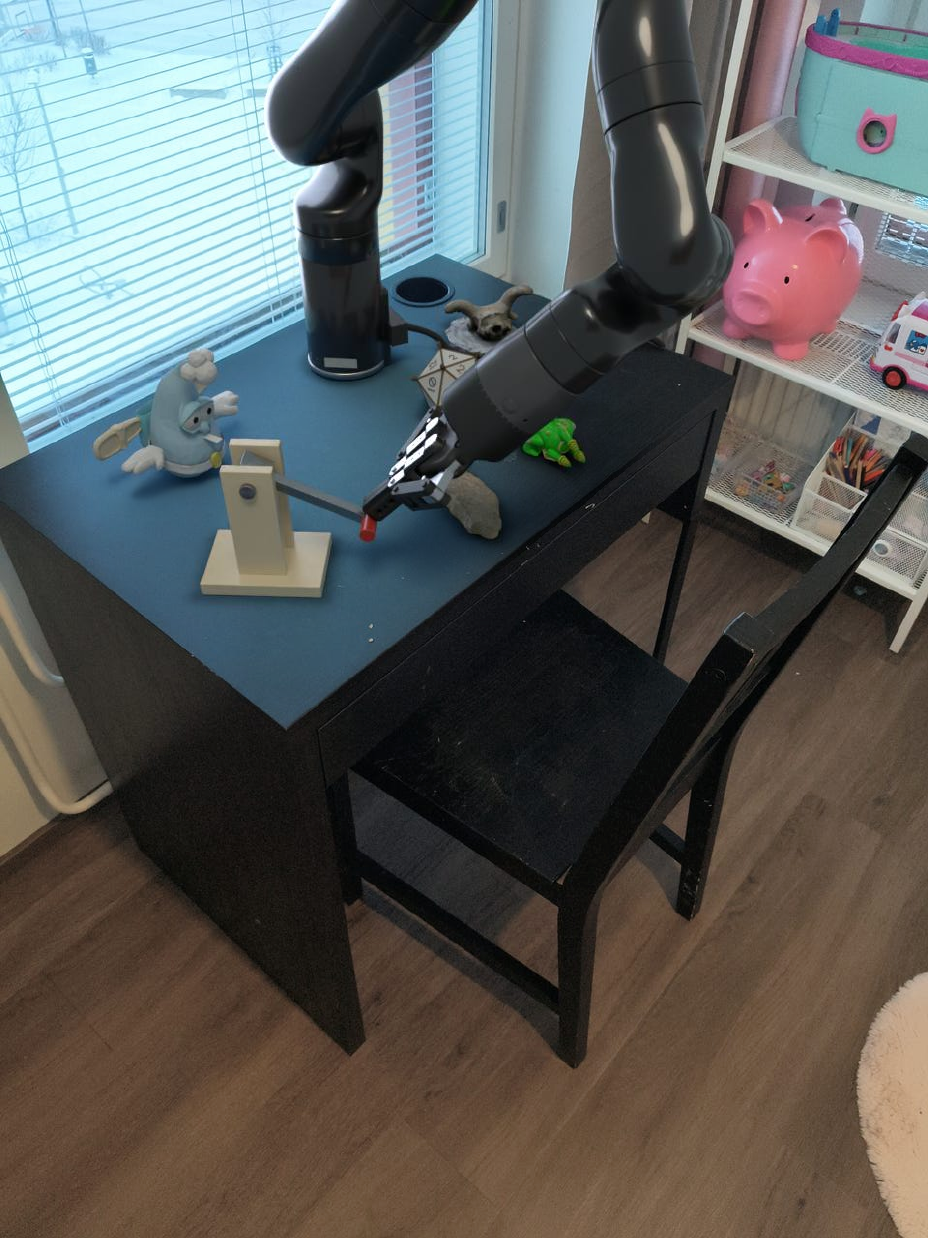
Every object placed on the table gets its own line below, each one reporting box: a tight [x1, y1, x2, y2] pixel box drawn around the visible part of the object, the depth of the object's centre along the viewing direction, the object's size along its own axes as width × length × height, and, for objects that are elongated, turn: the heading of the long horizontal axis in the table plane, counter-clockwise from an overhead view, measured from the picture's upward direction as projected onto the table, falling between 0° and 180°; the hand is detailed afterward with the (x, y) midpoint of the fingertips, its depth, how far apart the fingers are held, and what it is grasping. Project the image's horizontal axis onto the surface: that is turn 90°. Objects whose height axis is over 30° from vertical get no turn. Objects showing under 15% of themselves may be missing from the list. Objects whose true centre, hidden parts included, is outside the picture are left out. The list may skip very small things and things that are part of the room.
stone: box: [445, 471, 502, 540], centre depth 102 cm, size 13×3×5 cm
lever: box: [238, 450, 378, 543], centre depth 88 cm, size 13×5×2 cm, turn 88°
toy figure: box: [92, 348, 240, 479], centre depth 100 cm, size 17×10×15 cm, turn 151°
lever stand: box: [200, 438, 333, 598], centre depth 90 cm, size 11×8×13 cm
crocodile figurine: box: [522, 417, 586, 468], centre depth 110 cm, size 7×18×4 cm, turn 27°
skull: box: [443, 284, 534, 358], centre depth 125 cm, size 10×12×6 cm
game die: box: [409, 341, 481, 413], centre depth 111 cm, size 9×8×10 cm
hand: (370, 511), depth 89 cm, fingers closed
